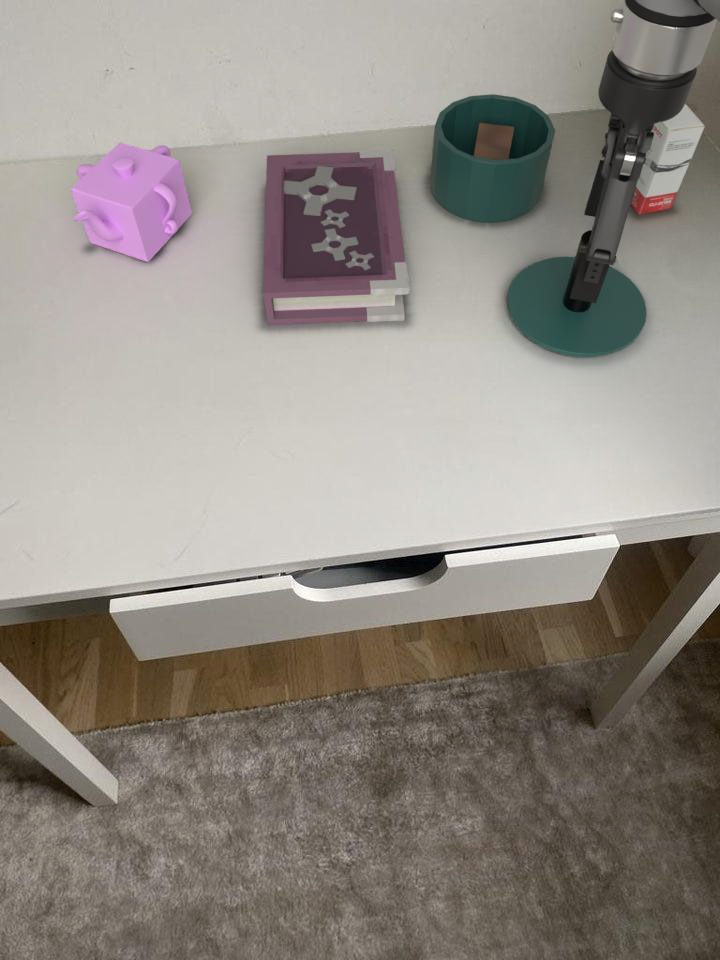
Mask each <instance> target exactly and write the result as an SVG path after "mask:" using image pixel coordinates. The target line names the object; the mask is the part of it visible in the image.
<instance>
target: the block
mask: <svg viewBox="0 0 720 960" xmlns="http://www.w3.org/2000/svg"><path fill="white" fill-rule="evenodd" d="M513 132H514V127H511V126H502V125H494V124H486V123H479V128H478V133H477V139H476V145H475V151H474V157H478V158H485V159H491V160H505V159H509V155H510V149H511V143H512V138H513Z"/></svg>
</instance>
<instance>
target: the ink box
mask: <svg viewBox="0 0 720 960" xmlns="http://www.w3.org/2000/svg"><path fill="white" fill-rule="evenodd" d="M705 127H706V126H705V125H704V123H703V122H702V121H701V119H699V117H698V116H697V115H696V114H695V113H694V111H693V110H692V109H691V108H690V107H689V106H688V105H687V103H685V105H684V107H683V109H682V110H681V111H680V113H679V114H677V115H676V116H675V117H673V118H671V119H669V120H667V121H664V122H659V123H656V124H654V126H653V129H652V131H651V132H654V137H653V140H652V144H651V147H650V149H649V150H648V151H647V153H646V157H645V158H646V161H645V164H643V167H642V171H641V174H640V177H639V179H638V181H637V184H636V188H635V191H634V195H633V198H632V202H631V205H630V206H631V207H632V208H633V209H634V211H635V212H636V213H637V215H644V214H649V213H656V212H662V211H667V210H671V209H672V206H673V205H674V202H675V201H676V200H675V199H676V197H677V194H678V193H679V190H680V188H681V185H682V182H683V180H684V178H685V175H686V174H687V170H688V169H689V165H690V163H691V162H692V159H693V156H694V154H695V151H696V149H697V146H698V144H699V142H700V139H701V137H702V134H703V132H704V129H705Z"/></svg>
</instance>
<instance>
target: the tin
mask: <svg viewBox="0 0 720 960" xmlns="http://www.w3.org/2000/svg"><path fill="white" fill-rule="evenodd" d="M479 123H486V124H494V125H502V126H511V127H514V132H513V138H512V143H511V149H510V155H509V159H505V160H491V159H485V158H478V157H474V151H475V145H476V139H477V133H478V128H479ZM433 129H434V130H433V140H432V141H433V142H432V154H431V155H432V156H431V168H430V179H429V183H430V189H431V194H432V196H433V197H434V199H435V201H436V202H437V203H438V205H440V206H441V207H442V208H443V210H446V211H447V212H448V213H450V214H452V215H454V216H456V217H459V218H461V219H465V220H468V221H472V222H476V223H490V224H492V223H493V224H494V223H504V222H509V221H513V220H516V219H518V218H520V217H523V216H525V215H527V214H528V213H530V212H531V211H532V210H533V209H534V208H535V207H536V206H537V205H538V203H539V201H540V199H541V197H542V191H543V186H544V182H545V179H546V174H547V169H548V165H549V160H550V155H551V151H552V147H553V143H554V139H555V133H556V129H555V126H554V124H553V122H552V120H551V118H550V116H549V115H548V114H547V113H546V112H544V111H543V110H542V109H541V108H540V107H538V106H537V105H536V104H534V103H531V102H529V101H526V100H523V99H521V98H518V97H515V96H507V95H502V94H495V93H492V94H480V95H479V94H478V95H469V96H467V97H464V98H461V99H458V100H454V101H452V102H451V103H449V105H446V107H445V108H443V109H442V110H441V111H440V112H439V113H438V115H437V119H436V121H435V124H434V128H433Z"/></svg>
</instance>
